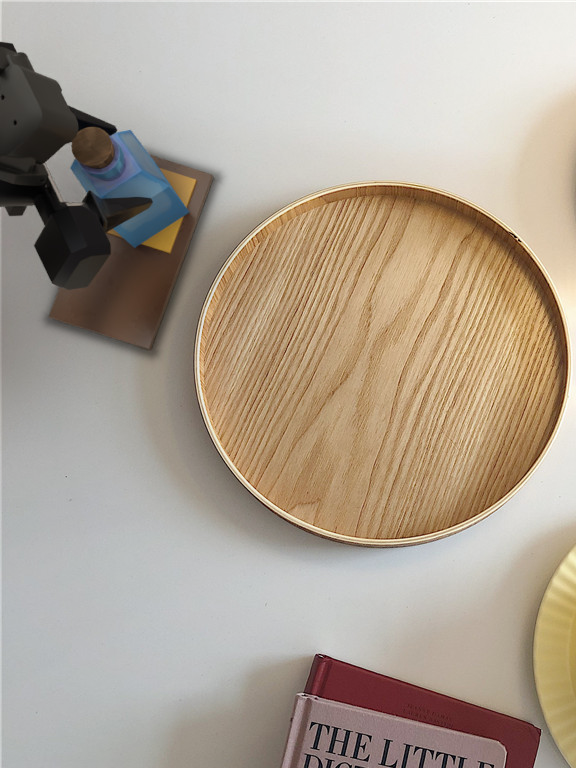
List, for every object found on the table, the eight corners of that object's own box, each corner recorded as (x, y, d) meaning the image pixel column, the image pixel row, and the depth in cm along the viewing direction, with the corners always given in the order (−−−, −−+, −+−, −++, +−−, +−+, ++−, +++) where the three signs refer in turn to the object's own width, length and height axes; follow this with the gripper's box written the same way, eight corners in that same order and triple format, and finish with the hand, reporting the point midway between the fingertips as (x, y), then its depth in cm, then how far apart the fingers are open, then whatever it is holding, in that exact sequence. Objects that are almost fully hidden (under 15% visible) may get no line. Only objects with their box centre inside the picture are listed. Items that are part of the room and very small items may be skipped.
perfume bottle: (134, 247, 66) (79, 199, 54) (99, 195, 66) (36, 136, 54) (189, 212, 66) (146, 156, 54) (154, 160, 67) (103, 93, 55)
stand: (51, 318, 66) (46, 316, 65) (116, 146, 68) (113, 141, 67) (150, 350, 66) (147, 348, 65) (214, 177, 67) (211, 173, 67)
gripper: (19, 218, 42) (225, 207, 54) (-105, -40, 43) (122, 4, 55) (-26, 306, 49) (164, 279, 61) (-131, 82, 51) (75, 98, 62)
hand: (132, 167), depth 60 cm, fingers open, 7 cm apart
